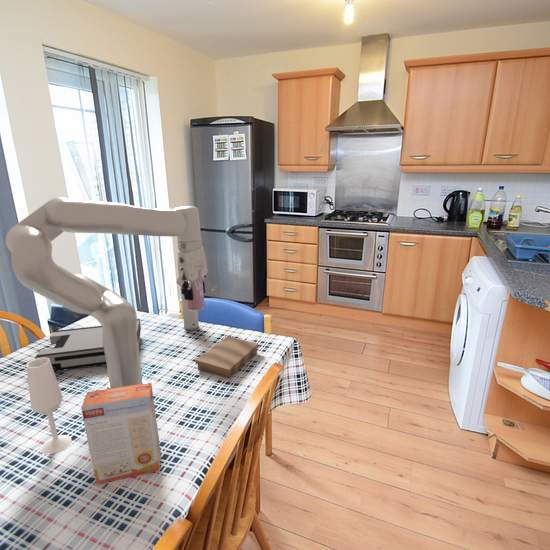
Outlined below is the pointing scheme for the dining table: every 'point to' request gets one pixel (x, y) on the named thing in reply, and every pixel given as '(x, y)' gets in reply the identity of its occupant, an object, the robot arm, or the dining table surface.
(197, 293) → the beverage can
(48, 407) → the champagne flute
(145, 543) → the dining table surface
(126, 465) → the cracker box
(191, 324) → the travel mug
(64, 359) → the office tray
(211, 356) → the brown flat block
